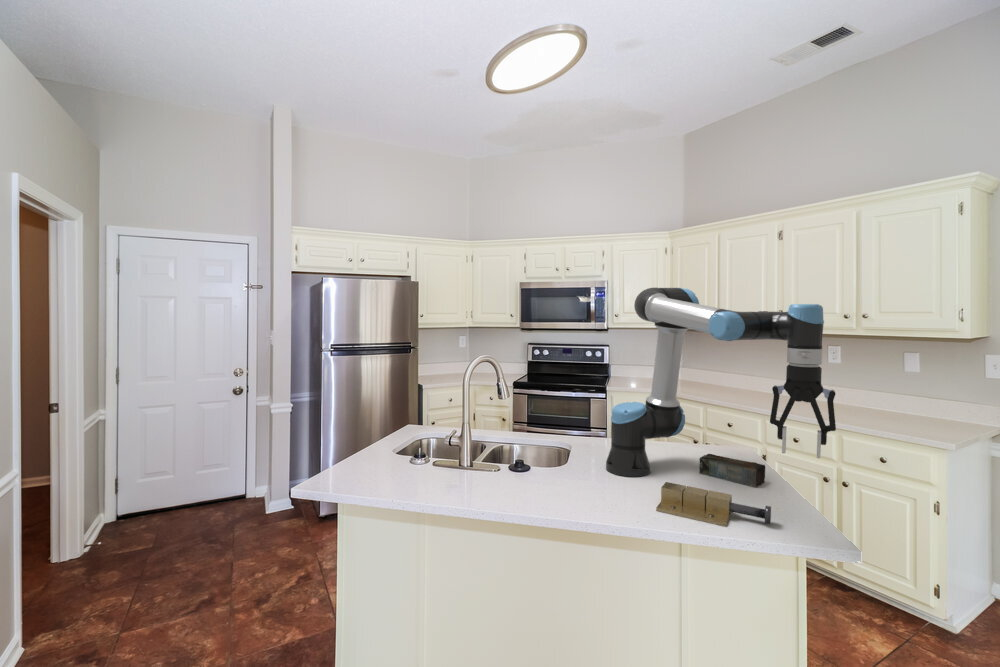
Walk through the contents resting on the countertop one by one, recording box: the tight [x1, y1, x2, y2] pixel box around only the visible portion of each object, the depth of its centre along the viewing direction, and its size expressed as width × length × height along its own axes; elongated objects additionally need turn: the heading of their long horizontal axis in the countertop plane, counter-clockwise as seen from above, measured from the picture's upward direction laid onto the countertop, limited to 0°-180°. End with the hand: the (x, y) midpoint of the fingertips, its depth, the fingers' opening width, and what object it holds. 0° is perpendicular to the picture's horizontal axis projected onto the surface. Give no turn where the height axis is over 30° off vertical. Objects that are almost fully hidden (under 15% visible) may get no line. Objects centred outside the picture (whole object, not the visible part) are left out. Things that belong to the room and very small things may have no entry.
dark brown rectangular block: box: [698, 453, 766, 488], centre depth 163 cm, size 8×19×7 cm, turn 44°
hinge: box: [655, 481, 733, 527], centre depth 138 cm, size 18×15×5 cm
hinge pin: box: [729, 502, 772, 525], centre depth 133 cm, size 19×4×4 cm, turn 57°
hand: (800, 454), depth 123 cm, fingers open, 7 cm apart
